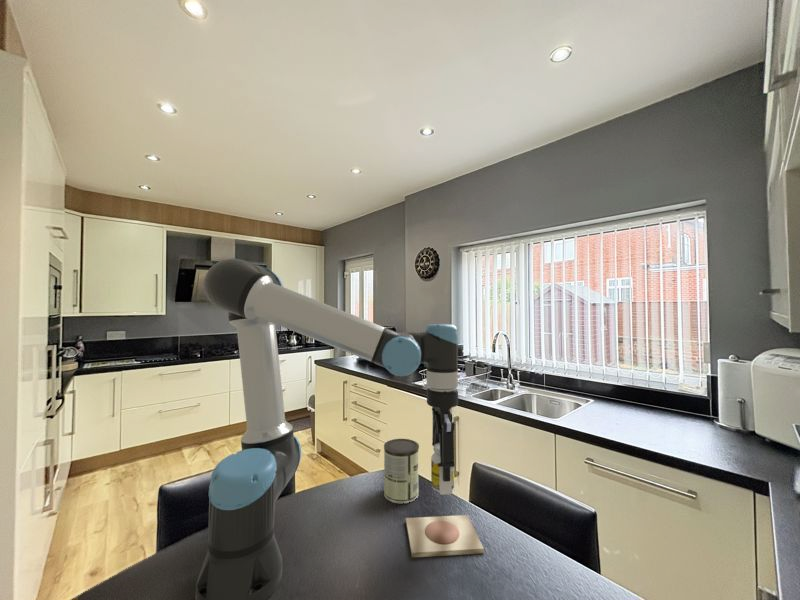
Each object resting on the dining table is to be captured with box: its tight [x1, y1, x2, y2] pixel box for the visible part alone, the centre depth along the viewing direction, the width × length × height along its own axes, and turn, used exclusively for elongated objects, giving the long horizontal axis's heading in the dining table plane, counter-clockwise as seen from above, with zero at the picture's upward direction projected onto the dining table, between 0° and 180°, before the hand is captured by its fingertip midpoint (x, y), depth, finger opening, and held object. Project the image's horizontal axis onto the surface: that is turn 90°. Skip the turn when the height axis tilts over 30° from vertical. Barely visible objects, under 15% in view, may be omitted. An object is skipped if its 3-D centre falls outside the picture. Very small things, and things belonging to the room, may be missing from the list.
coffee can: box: [383, 438, 420, 505], centre depth 95 cm, size 10×10×14 cm
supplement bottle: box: [430, 443, 455, 493], centre depth 77 cm, size 5×5×10 cm
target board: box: [405, 514, 485, 558], centre depth 77 cm, size 16×12×1 cm
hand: (442, 486), depth 77 cm, fingers closed on supplement bottle, 5 cm apart
